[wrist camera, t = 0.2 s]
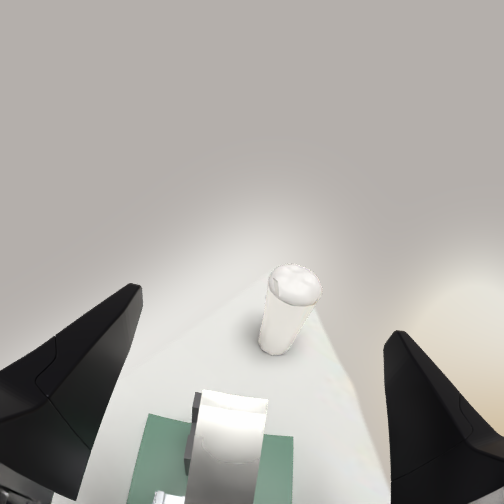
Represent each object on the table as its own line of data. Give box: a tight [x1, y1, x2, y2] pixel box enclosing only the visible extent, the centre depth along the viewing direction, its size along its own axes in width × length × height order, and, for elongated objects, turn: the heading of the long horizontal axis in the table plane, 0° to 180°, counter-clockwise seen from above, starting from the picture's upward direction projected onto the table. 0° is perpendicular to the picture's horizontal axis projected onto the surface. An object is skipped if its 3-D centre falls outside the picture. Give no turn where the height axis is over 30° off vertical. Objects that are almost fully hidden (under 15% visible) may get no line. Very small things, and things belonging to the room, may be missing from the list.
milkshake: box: [258, 264, 323, 355], centre depth 26 cm, size 5×5×10 cm
